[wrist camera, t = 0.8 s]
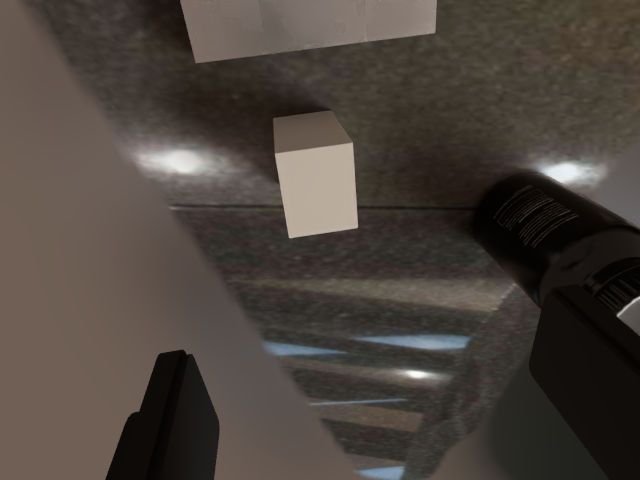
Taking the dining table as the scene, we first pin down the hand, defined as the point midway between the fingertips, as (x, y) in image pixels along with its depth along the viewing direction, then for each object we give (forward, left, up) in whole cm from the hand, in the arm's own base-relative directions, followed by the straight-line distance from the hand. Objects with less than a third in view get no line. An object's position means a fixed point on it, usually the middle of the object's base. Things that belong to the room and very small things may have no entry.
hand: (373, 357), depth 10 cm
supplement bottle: (+7, +15, -17) cm, 24 cm away
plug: (0, 0, -17) cm, 17 cm away
